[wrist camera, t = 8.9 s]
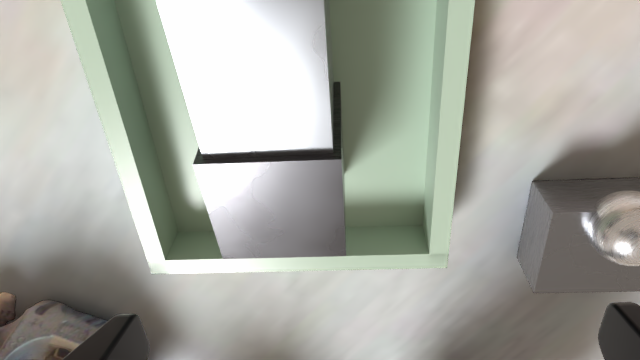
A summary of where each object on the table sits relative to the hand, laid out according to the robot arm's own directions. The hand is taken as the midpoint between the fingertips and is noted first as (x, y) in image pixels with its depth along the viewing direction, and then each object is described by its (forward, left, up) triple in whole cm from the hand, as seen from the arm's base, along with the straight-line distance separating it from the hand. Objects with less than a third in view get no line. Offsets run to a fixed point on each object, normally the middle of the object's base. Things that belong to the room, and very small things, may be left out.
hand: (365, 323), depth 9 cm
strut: (+3, +3, -10) cm, 11 cm away
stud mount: (-7, -11, -12) cm, 17 cm away
